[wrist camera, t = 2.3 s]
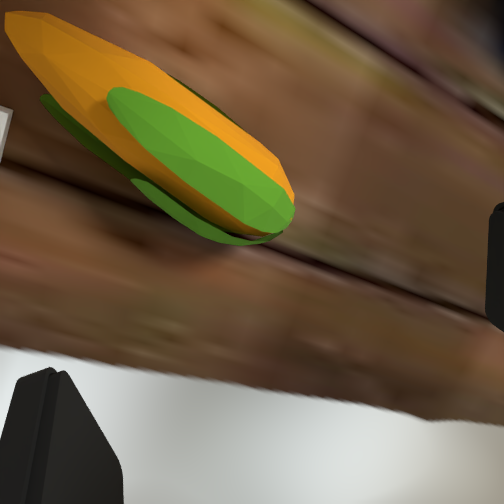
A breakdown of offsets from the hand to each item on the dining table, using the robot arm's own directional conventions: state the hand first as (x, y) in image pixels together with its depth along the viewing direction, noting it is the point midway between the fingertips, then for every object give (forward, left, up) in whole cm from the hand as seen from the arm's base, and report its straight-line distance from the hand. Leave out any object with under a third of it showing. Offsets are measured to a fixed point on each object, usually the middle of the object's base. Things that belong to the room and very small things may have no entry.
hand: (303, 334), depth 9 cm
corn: (0, -1, -24) cm, 24 cm away
